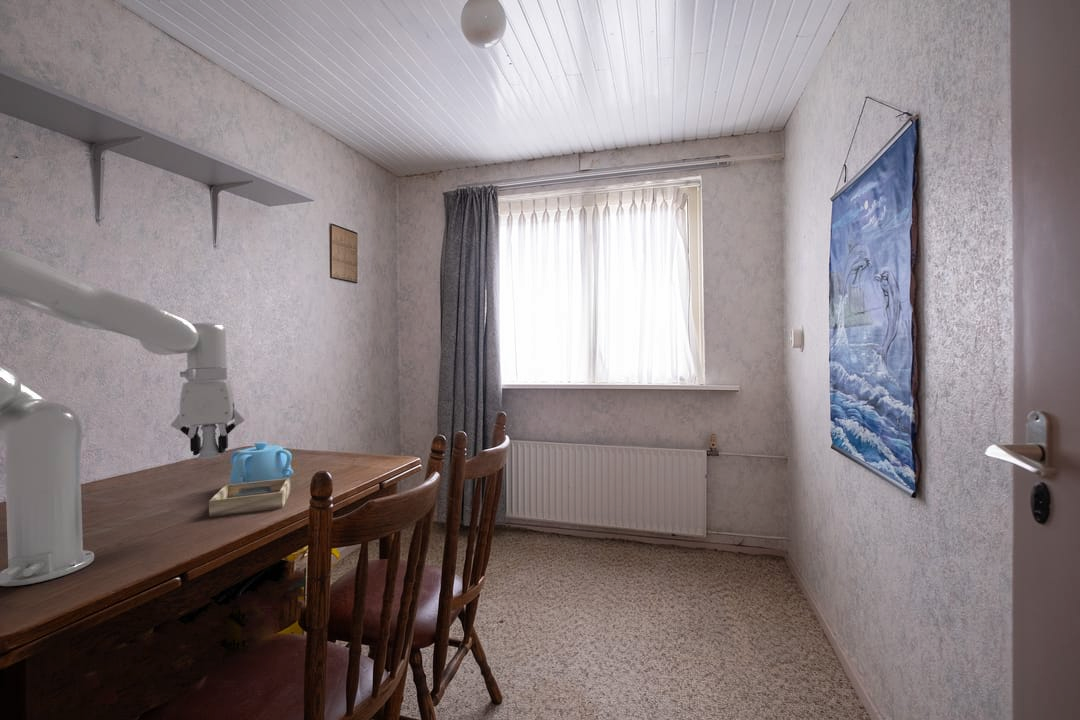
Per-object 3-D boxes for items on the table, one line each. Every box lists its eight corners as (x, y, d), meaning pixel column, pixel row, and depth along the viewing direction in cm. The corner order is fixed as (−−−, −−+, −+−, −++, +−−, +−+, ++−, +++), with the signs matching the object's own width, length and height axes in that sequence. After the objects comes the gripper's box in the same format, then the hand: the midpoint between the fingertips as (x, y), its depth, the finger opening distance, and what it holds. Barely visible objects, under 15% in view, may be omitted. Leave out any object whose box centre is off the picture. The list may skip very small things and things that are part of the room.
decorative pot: (229, 485, 144) (227, 442, 144) (287, 476, 153) (286, 435, 153) (231, 497, 131) (229, 450, 130) (295, 487, 140) (293, 442, 140)
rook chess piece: (225, 455, 110) (225, 422, 110) (207, 459, 106) (206, 425, 106) (211, 454, 111) (210, 421, 111) (193, 459, 107) (192, 424, 107)
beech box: (282, 507, 120) (282, 492, 120) (209, 517, 114) (208, 501, 114) (290, 491, 135) (290, 478, 135) (226, 499, 129) (225, 484, 129)
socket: (266, 503, 122) (266, 491, 122) (233, 507, 120) (232, 495, 120) (271, 495, 130) (271, 484, 129) (240, 499, 127) (239, 488, 127)
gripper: (157, 377, 102) (159, 460, 102) (245, 375, 108) (247, 452, 108) (169, 376, 109) (172, 453, 109) (252, 374, 115) (254, 447, 115)
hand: (209, 452), depth 109 cm, fingers closed on rook chess piece, 4 cm apart
